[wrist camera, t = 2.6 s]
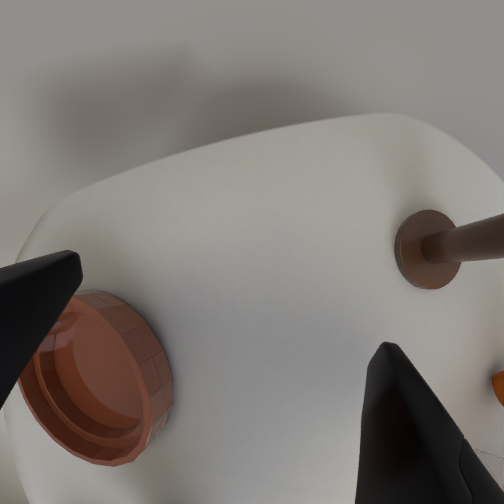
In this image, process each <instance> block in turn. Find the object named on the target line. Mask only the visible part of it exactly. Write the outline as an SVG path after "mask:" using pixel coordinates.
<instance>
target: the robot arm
mask: <svg viewBox="0 0 504 504" xmlns="http://www.w3.org/2000/svg"><path fill="white" fill-rule="evenodd" d="M82 279H83V273H82V267H81V260H80V256H79V254H78V253H76V252H74V251H71V250H65V251H61V252H57V253H53V254H49V255H45V256H42V257H38V258H34V259H31V260H27V261H23V262H20V263H16V264H13V265H10V266H6V267H2V268H0V410H1V408H2V406H3V404H4V403H5V401H6V399H7V397H8V395H9V394H10V392H11V390H12V389H13V387H14V385H15V384H16V382H17V380H18V379H19V377H20V375H21V374H22V372H23V371H24V369H25V367H26V366H27V364H28V363H29V361H30V360H31V358H32V357H33V355H34V354H35V352H36V351H37V349H38V348H39V346H40V345H41V343H42V342H43V340H44V339H45V337H46V336H47V335H48V333H49V332H50V330H51V329H52V328H53V326H54V325H55V323H56V322H57V320H58V319H59V318H60V316H61V314H62V313H63V311H64V309H65V308H66V306H67V304H68V303H69V301H70V300H71V298H72V296H73V295H74V293H75V292H76V290H77V289H78V287H79V285H80V284H81V282H82ZM355 504H504V492H503V490H502V489H501V487H500V486H499V485H498V483H497V482H496V481H495V480H494V478H493V477H492V476H491V474H490V473H489V472H488V470H487V469H486V467H485V466H484V465H483V463H482V462H481V461H480V459H479V458H478V456H477V455H476V453H475V452H474V450H473V449H472V447H471V446H470V444H469V443H468V441H467V440H466V439H465V438H464V435H463V434H462V432H461V431H460V429H459V428H458V426H457V425H456V423H455V422H454V421H453V419H452V418H451V416H450V415H449V413H448V412H447V411H446V409H445V408H444V406H443V405H442V403H441V402H440V401H439V399H438V398H437V396H436V395H435V394H434V392H433V391H432V390H431V388H430V387H429V385H428V384H427V383H426V381H425V380H424V379H423V377H422V376H421V375H420V373H419V372H418V371H417V369H416V368H415V367H414V365H413V364H412V363H411V361H410V360H409V359H408V357H407V356H406V355H405V354H404V352H403V351H402V350H401V348H400V347H399V346H398V345H397V344H395V343H390V342H383V343H382V344H381V345H380V346H379V348H378V349H377V351H376V353H375V354H374V356H373V357H372V359H371V360H370V362H369V365H368V368H367V377H366V386H365V394H364V402H363V409H362V418H361V438H360V455H359V468H358V479H357V488H356V497H355Z"/></svg>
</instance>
